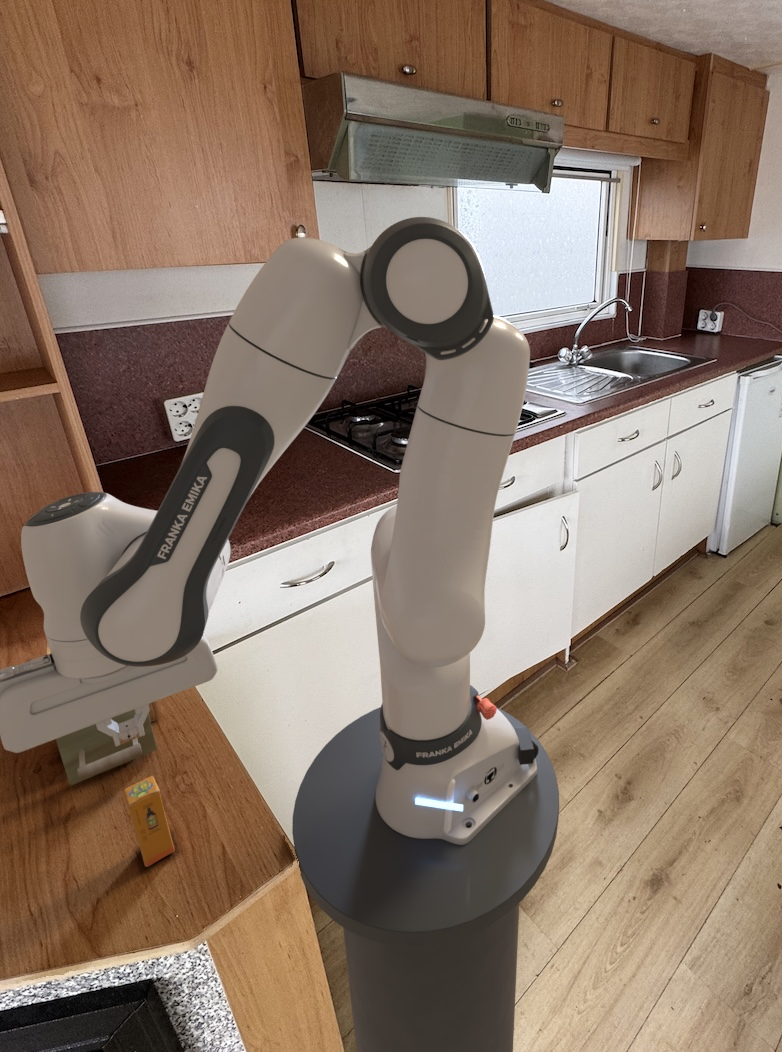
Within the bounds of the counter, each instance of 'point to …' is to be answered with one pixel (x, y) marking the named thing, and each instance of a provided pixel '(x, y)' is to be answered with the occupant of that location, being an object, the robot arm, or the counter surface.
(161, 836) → the supplement box
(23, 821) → the counter surface
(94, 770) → the drawer
